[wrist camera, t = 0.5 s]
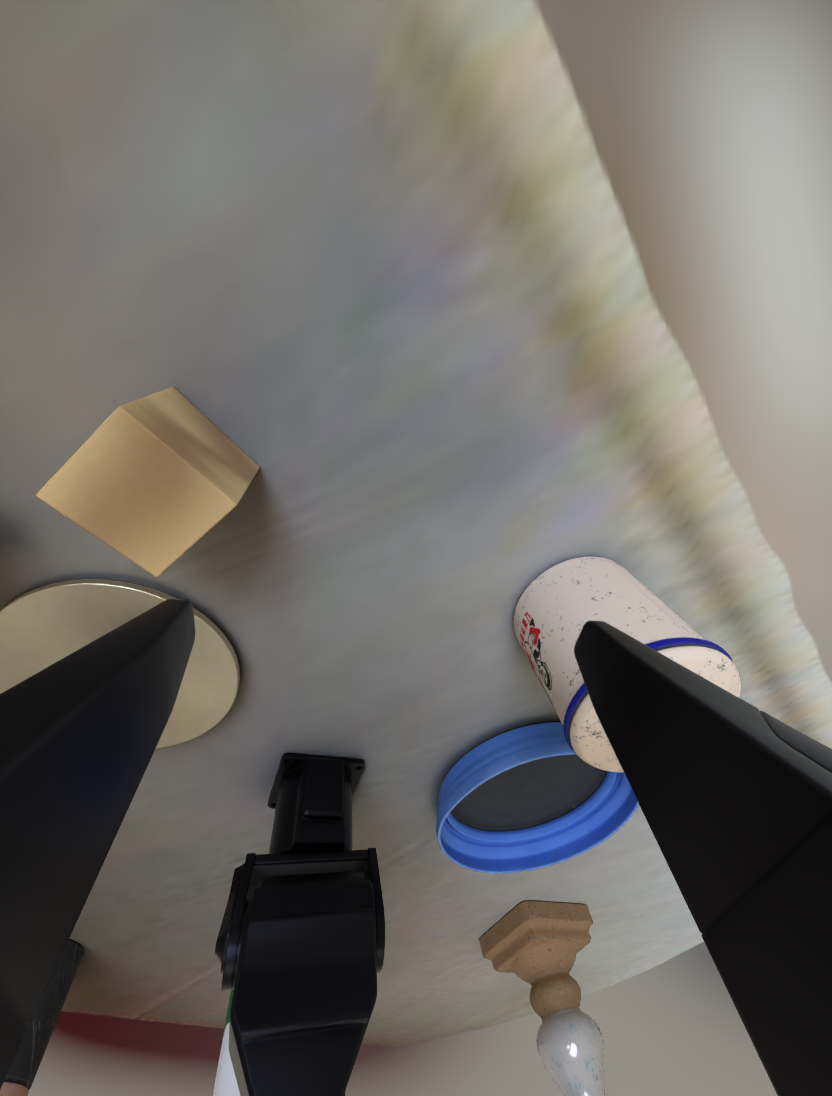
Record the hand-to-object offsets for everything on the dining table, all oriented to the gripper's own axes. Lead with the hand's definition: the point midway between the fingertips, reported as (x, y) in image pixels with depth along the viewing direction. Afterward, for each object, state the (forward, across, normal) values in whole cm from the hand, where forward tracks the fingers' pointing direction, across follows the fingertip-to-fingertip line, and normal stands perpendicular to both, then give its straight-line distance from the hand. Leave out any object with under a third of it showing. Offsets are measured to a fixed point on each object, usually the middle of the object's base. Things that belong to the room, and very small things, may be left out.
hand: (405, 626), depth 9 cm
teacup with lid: (+14, -16, +10) cm, 23 cm away
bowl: (+14, -18, +28) cm, 36 cm away
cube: (+14, +9, +2) cm, 17 cm away
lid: (+13, +13, +15) cm, 24 cm away
